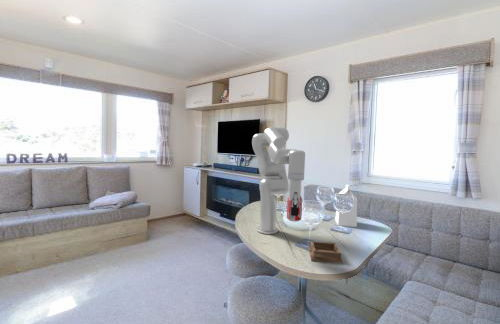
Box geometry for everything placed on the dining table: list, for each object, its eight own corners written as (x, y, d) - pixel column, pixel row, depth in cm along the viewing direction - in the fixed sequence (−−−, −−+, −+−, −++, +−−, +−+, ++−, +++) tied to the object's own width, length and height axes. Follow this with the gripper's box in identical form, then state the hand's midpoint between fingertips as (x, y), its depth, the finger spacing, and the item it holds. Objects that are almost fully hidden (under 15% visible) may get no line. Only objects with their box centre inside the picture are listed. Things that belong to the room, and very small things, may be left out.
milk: (356, 226, 168) (359, 187, 165) (338, 225, 170) (340, 186, 167) (352, 221, 180) (354, 184, 177) (335, 219, 181) (337, 183, 179)
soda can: (299, 217, 128) (300, 193, 127) (302, 222, 121) (304, 197, 120) (285, 217, 128) (286, 193, 127) (287, 222, 121) (288, 196, 120)
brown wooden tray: (308, 248, 132) (308, 240, 132) (336, 250, 131) (337, 242, 130) (311, 260, 118) (311, 252, 118) (343, 263, 117) (343, 254, 116)
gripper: (288, 173, 132) (286, 208, 134) (288, 178, 115) (286, 217, 117) (303, 174, 131) (301, 209, 133) (305, 179, 114) (303, 219, 115)
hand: (294, 212), depth 125 cm, fingers closed on soda can, 7 cm apart
